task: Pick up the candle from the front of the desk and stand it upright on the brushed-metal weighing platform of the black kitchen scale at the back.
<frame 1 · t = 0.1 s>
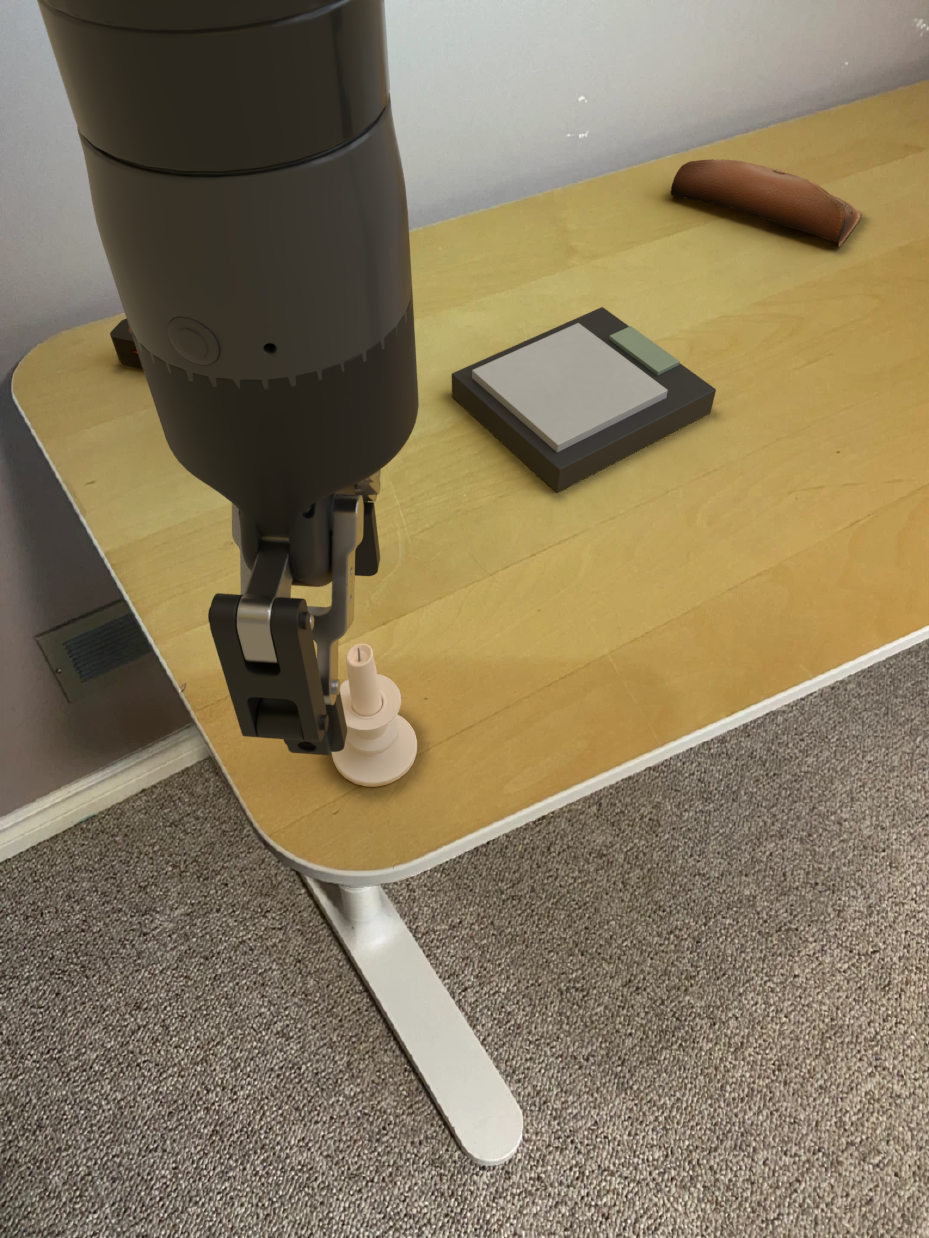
hand: (337, 649, 38), 21 cm above the table, tool pointing down, fingers open, 8 cm apart
candle: (375, 751, 59), on the table
can: (307, 435, 77), on the table
sunglasses case: (764, 211, 98), on the table
scale: (580, 405, 79), on the table
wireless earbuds: (171, 364, 83), on the table
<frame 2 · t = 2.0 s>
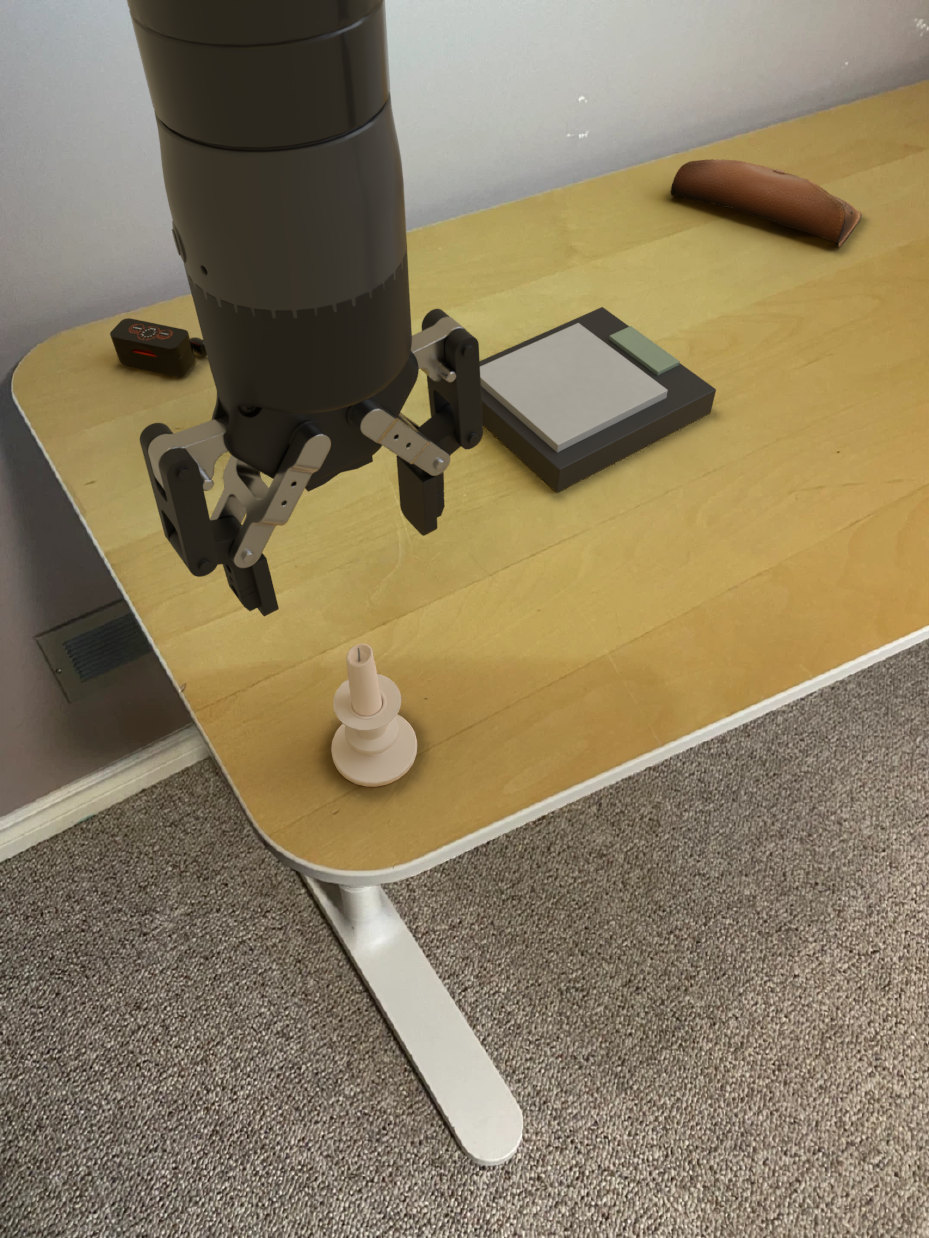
hand: (343, 560, 45), 17 cm above the table, tool pointing down, fingers open, 8 cm apart
nothing on the table moved.
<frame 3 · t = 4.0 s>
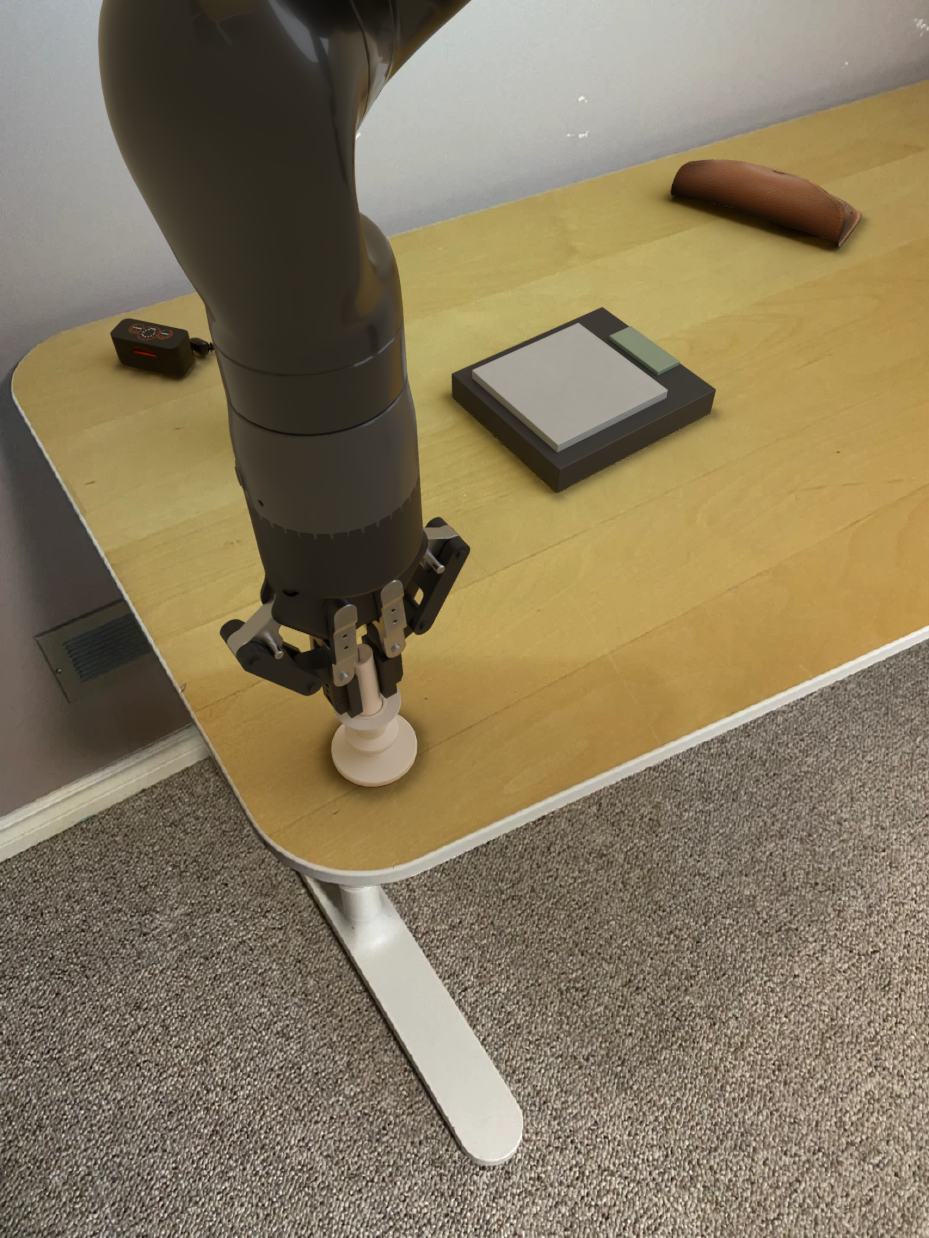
hand: (365, 694, 54), 6 cm above the table, tool pointing down, fingers closed on candle
candle: (375, 751, 59), on the table, touching gripper
everything else where it was.
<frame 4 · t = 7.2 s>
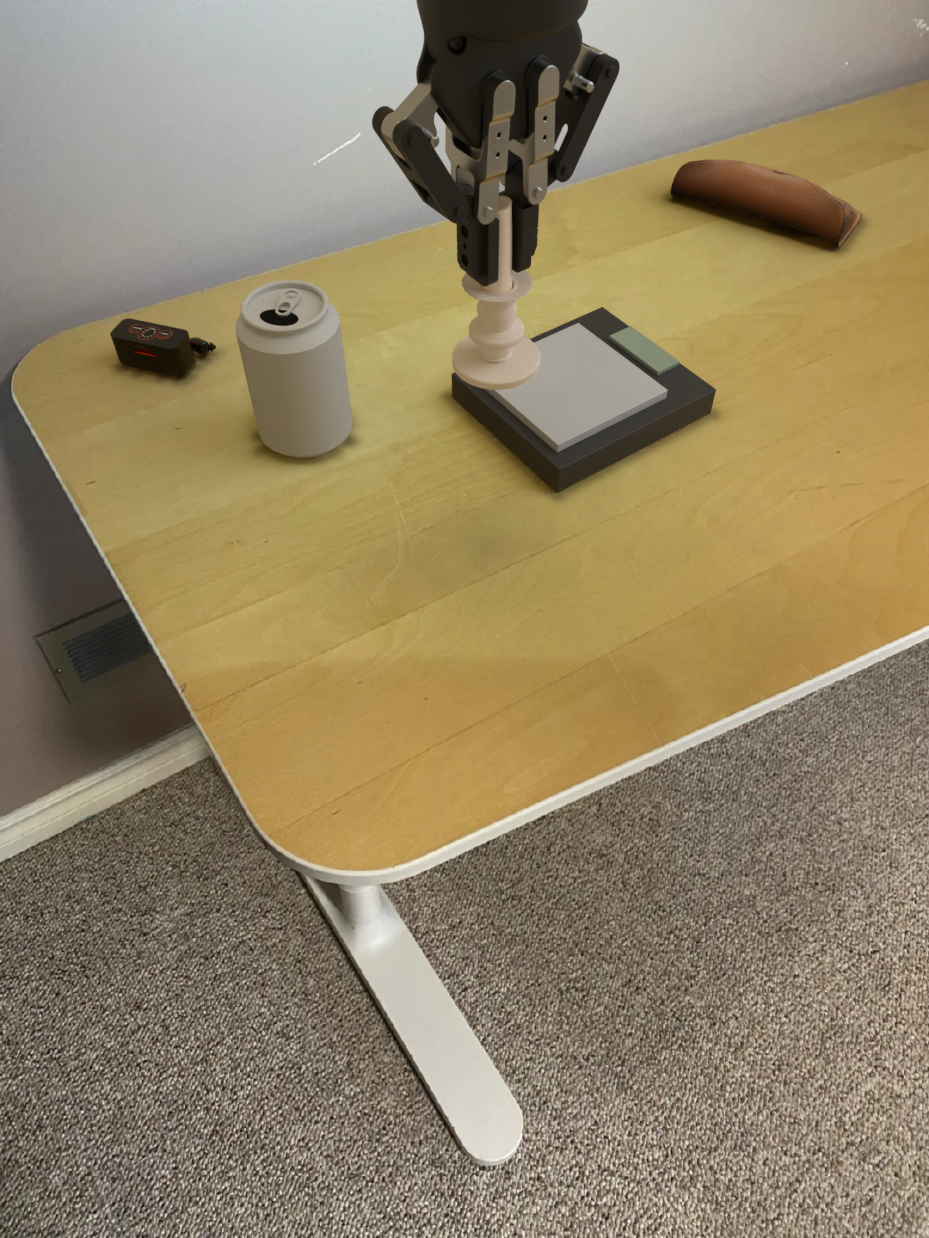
hand: (497, 270, 52), 22 cm above the table, tool pointing down, fingers closed on candle
candle: (495, 365, 57), point 16 cm above the table, touching gripper
everything else where it was.
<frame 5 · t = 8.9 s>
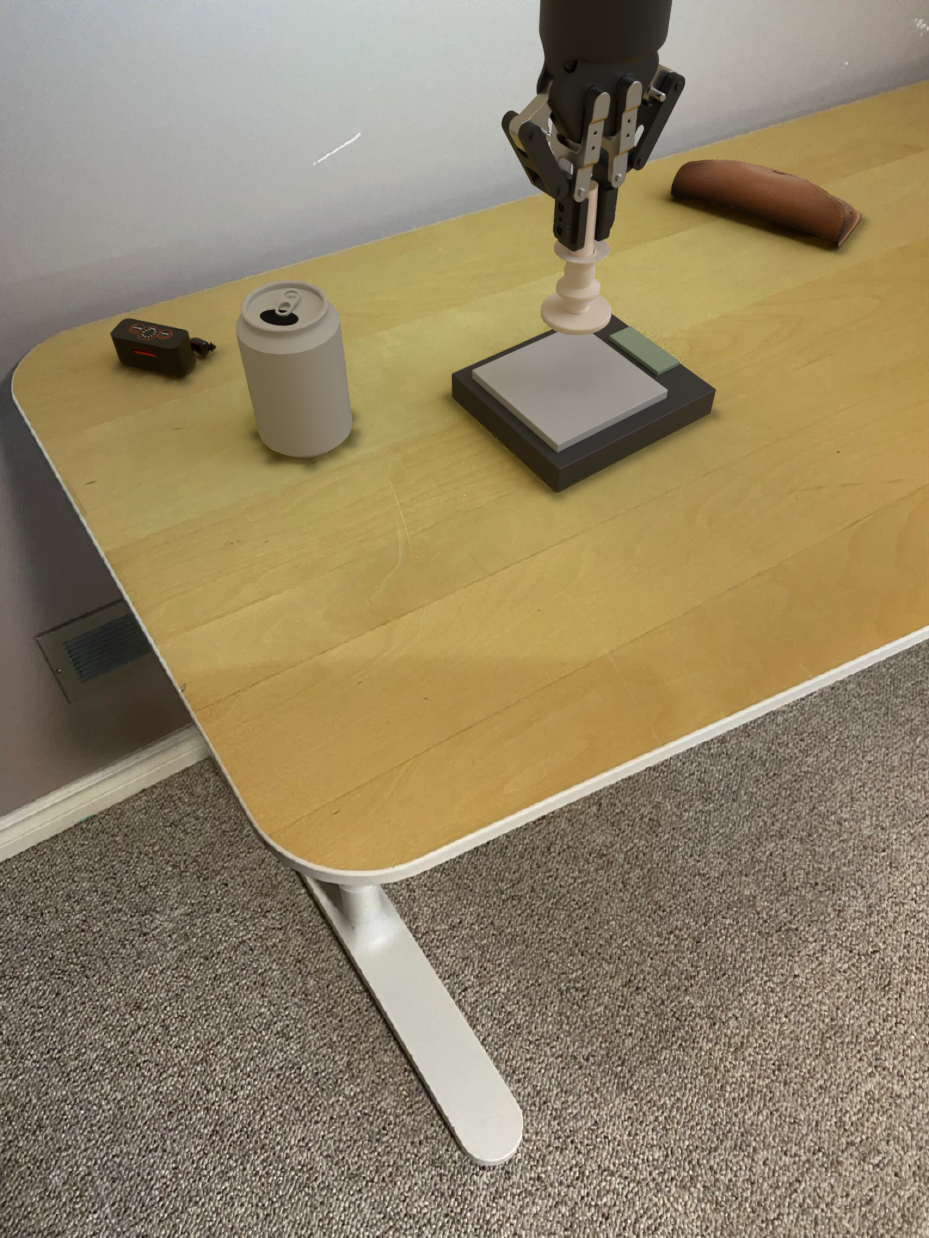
hand: (582, 239, 66), 15 cm above the table, tool pointing down, fingers closed on candle
candle: (575, 317, 71), point 9 cm above the table, touching gripper
everything else where it was.
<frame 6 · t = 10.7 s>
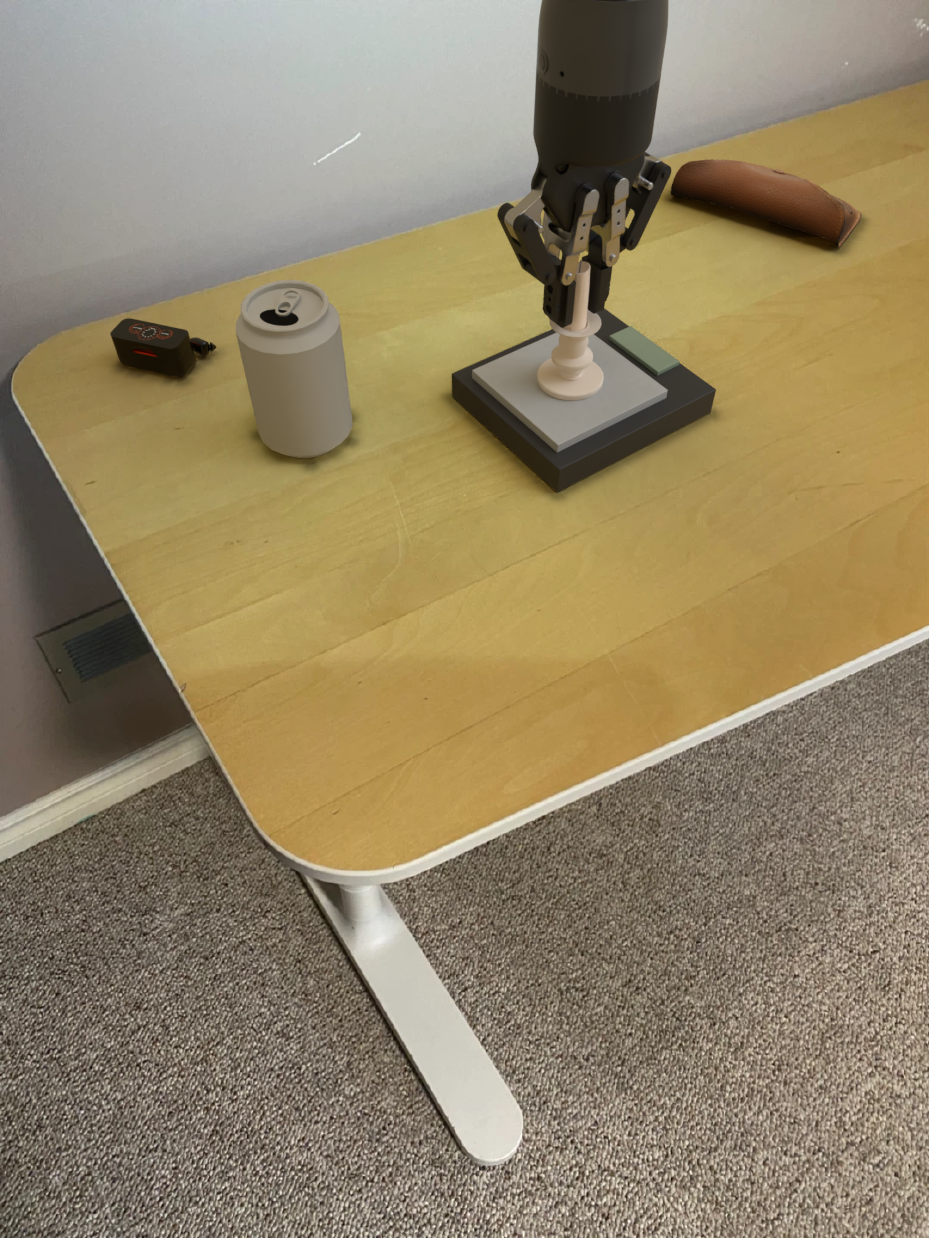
hand: (575, 313, 71), 9 cm above the table, tool pointing down, fingers closed
candle: (569, 382, 76), point 3 cm above the table, touching scale
everything else where it was.
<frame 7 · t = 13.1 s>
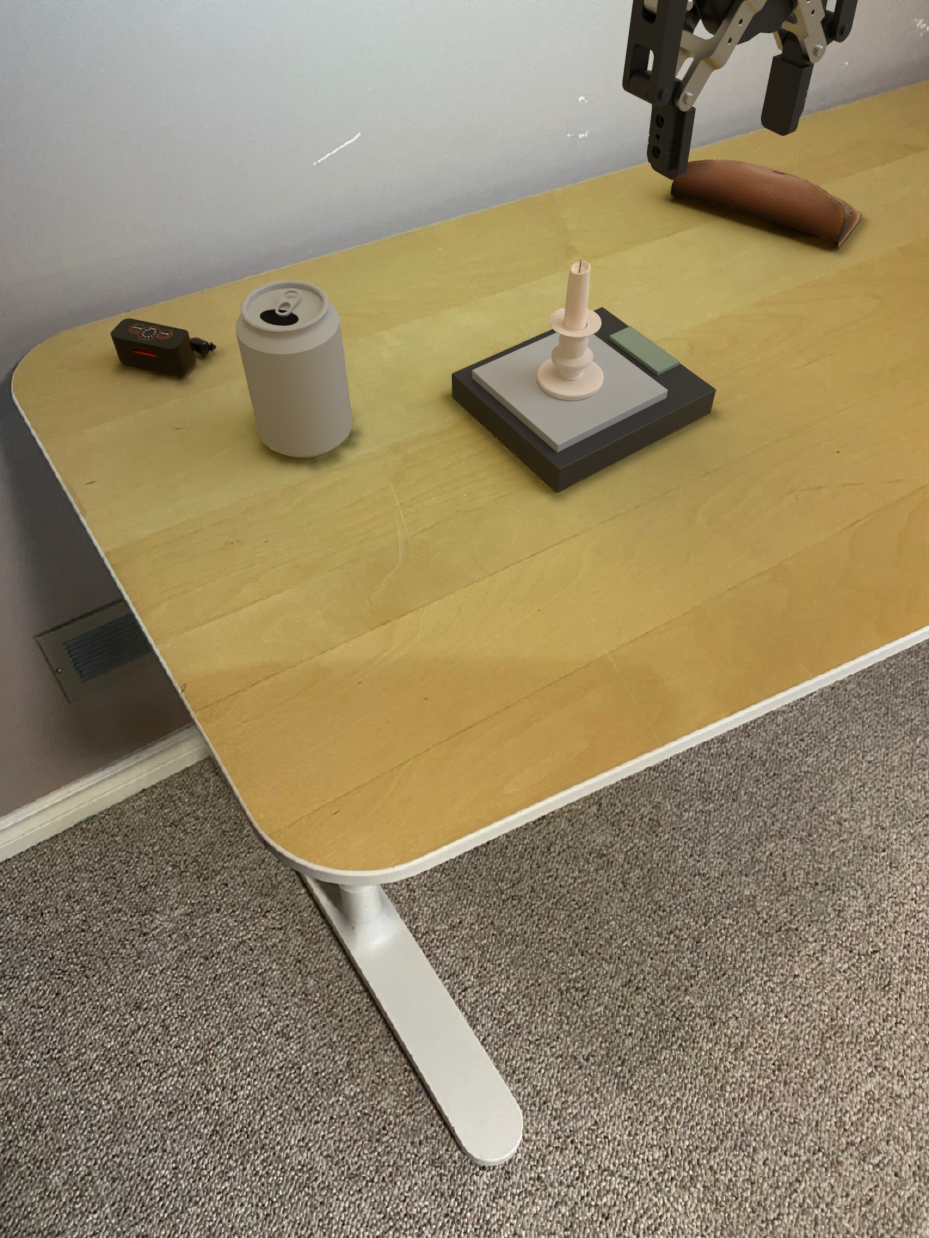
hand: (723, 151, 54), 25 cm above the table, tool pointing down, fingers open, 8 cm apart
nothing on the table moved.
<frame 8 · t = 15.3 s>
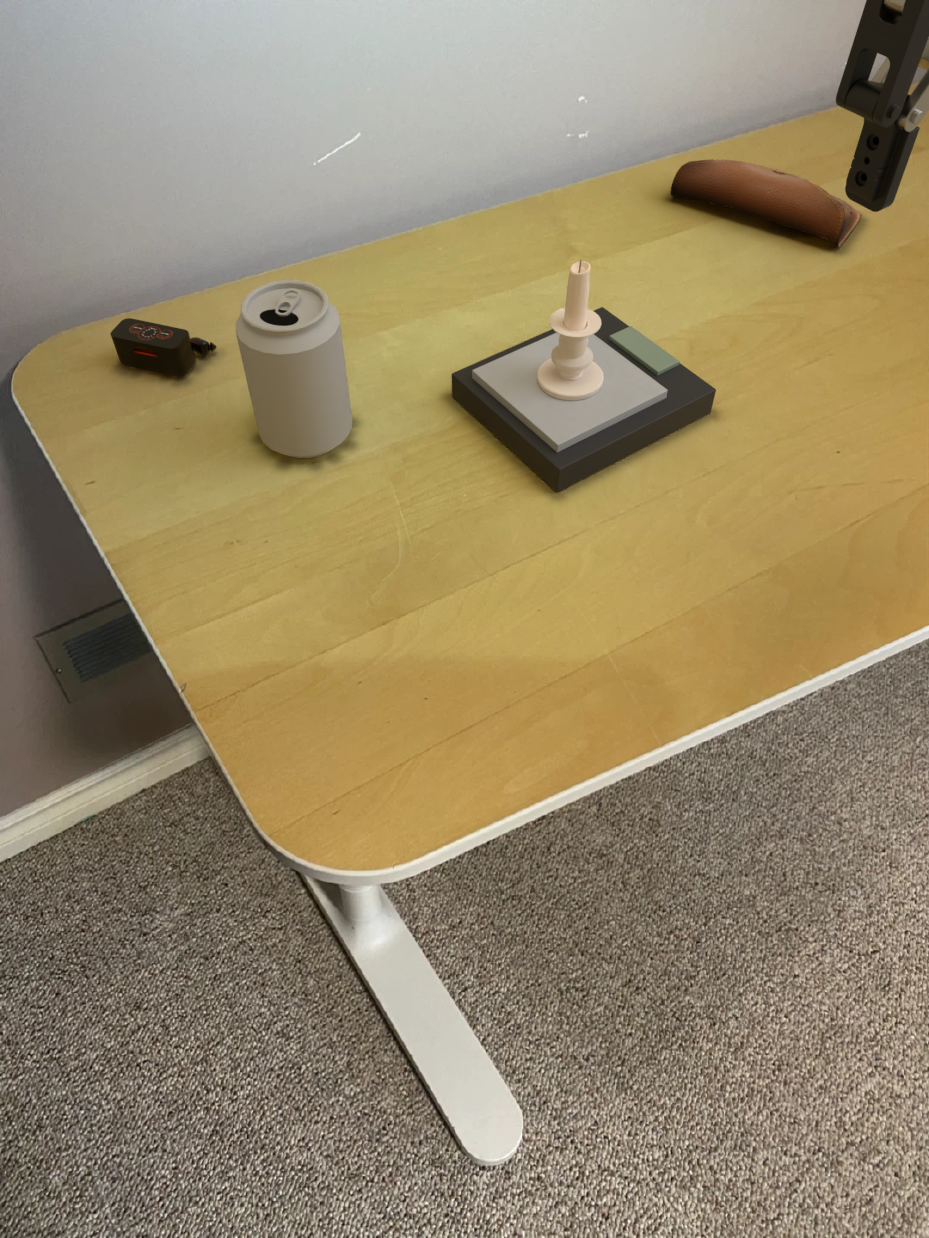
hand: (926, 176, 46), 28 cm above the table, tool pointing down, fingers open, 8 cm apart
nothing on the table moved.
at the end: candle inside the target area on the scale (0.1 cm from its centre), point 3.0 cm above the scale's base; candle tilted 0°; the gripper is holding nothing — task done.
